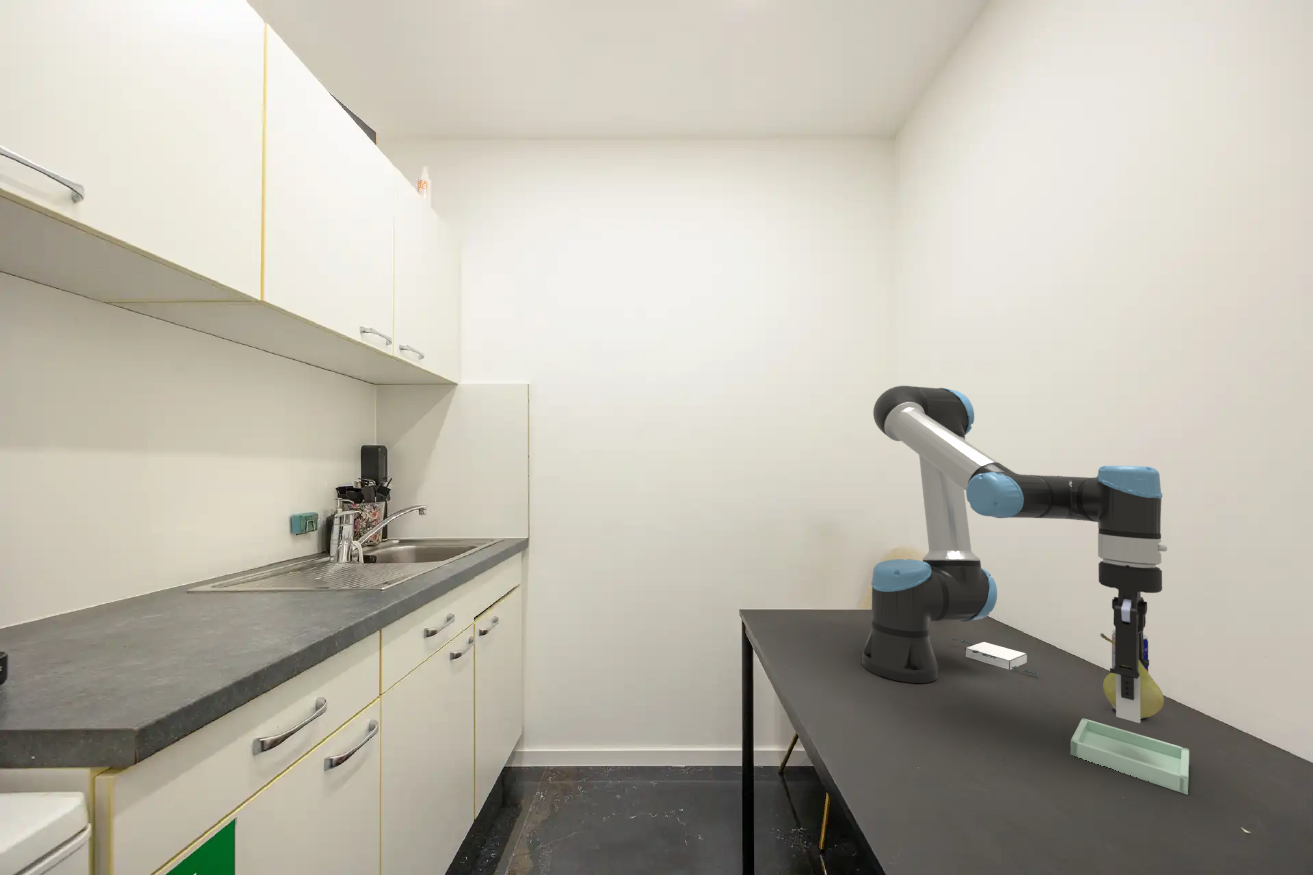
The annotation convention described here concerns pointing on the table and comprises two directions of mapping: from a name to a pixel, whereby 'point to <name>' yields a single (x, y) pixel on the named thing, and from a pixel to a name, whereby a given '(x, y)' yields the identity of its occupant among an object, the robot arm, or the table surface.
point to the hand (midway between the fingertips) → (1130, 711)
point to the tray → (1132, 754)
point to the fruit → (1148, 690)
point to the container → (996, 655)
